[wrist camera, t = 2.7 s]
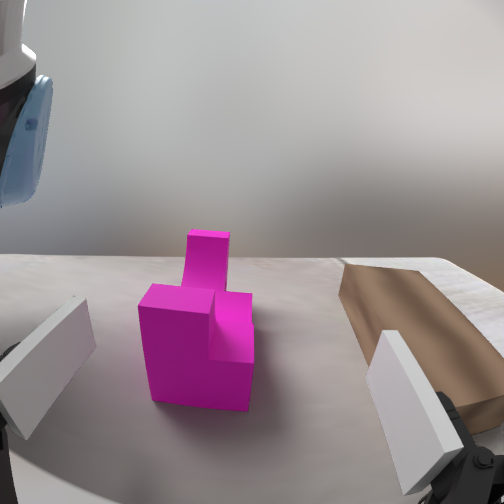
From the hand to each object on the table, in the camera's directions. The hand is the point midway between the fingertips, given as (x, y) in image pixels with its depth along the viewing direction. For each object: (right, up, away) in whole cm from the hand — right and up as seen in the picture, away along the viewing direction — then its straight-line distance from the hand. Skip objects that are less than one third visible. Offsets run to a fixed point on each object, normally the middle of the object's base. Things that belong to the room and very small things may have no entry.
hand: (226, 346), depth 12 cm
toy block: (-2, -4, +12) cm, 13 cm away
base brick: (+16, -5, +11) cm, 20 cm away
